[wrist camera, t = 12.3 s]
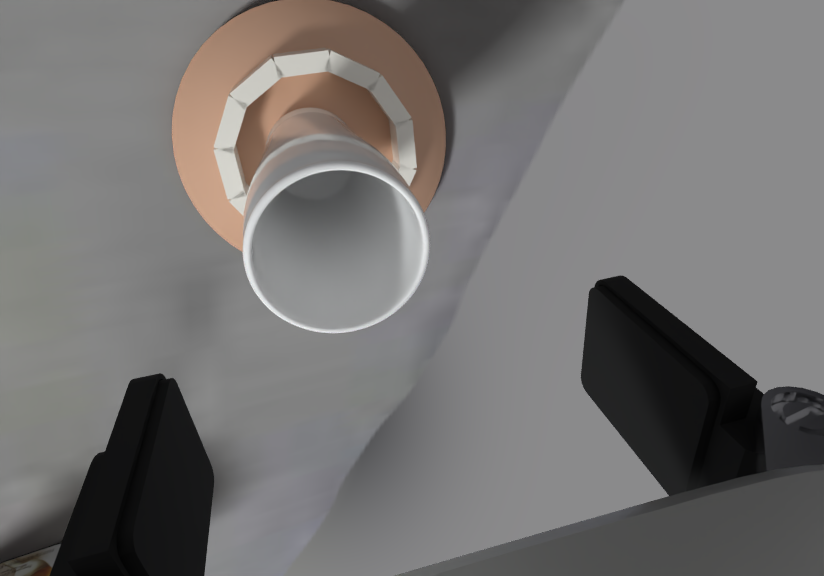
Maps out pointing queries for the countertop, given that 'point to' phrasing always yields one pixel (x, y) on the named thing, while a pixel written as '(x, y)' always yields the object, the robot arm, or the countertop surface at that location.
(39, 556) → the coffee box
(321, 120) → the drinking glass
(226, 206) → the tan saucer
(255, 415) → the countertop surface
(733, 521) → the robot arm
